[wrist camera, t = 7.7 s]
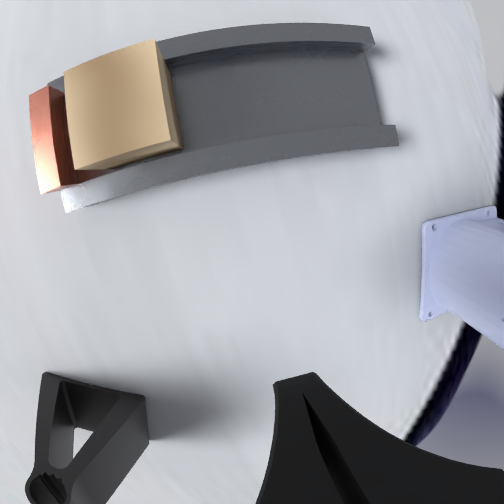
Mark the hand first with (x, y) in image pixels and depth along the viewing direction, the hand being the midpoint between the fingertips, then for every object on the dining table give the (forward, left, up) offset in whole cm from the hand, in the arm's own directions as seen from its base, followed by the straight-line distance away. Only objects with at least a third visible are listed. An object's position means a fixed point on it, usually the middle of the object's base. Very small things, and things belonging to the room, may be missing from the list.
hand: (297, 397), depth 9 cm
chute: (0, -11, -9) cm, 14 cm away
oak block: (+4, -11, -8) cm, 14 cm away
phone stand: (+15, +8, -10) cm, 20 cm away
